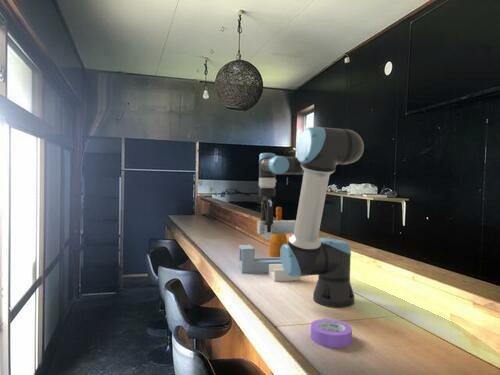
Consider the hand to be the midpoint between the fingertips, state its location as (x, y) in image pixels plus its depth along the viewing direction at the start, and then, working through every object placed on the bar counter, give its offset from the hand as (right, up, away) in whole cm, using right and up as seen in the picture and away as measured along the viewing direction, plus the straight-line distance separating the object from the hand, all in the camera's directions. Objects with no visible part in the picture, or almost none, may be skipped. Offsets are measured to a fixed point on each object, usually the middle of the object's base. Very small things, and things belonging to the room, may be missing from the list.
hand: (266, 238), depth 170 cm
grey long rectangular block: (+5, +2, +1) cm, 6 cm away
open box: (-1, -18, +15) cm, 24 cm away
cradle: (+8, -18, +2) cm, 20 cm away
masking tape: (+16, -21, -62) cm, 67 cm away
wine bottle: (+8, -18, +32) cm, 37 cm away
